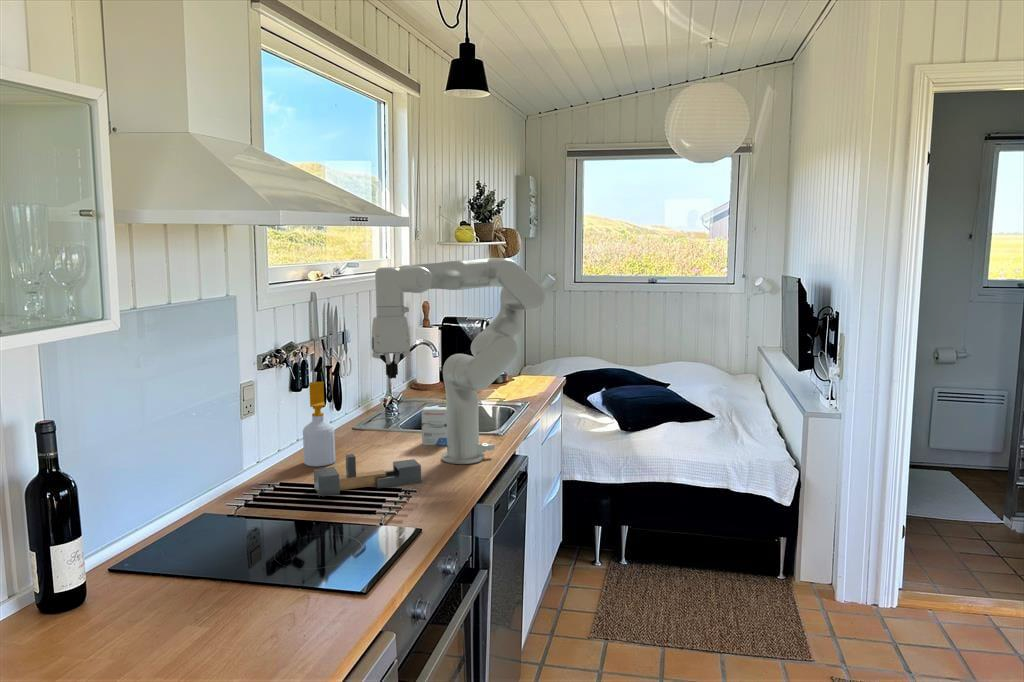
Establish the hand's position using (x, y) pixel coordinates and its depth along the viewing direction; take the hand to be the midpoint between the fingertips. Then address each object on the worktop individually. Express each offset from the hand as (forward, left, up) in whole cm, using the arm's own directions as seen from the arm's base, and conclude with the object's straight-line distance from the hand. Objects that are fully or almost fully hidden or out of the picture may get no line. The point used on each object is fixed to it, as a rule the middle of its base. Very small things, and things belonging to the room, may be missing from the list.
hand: (392, 377), depth 217 cm
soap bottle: (+18, -18, -27) cm, 37 cm away
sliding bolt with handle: (+13, +10, -27) cm, 31 cm away
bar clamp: (+9, +10, -27) cm, 30 cm away
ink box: (-20, -24, -27) cm, 41 cm away
